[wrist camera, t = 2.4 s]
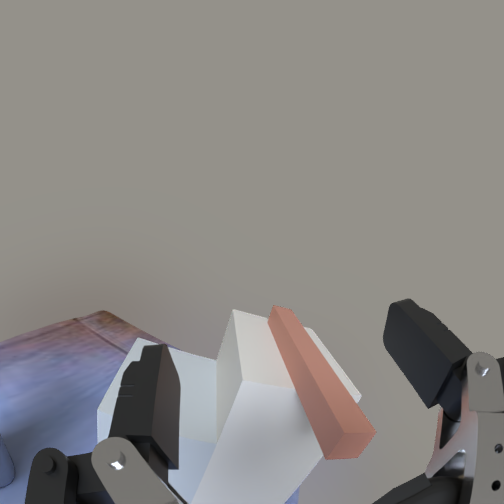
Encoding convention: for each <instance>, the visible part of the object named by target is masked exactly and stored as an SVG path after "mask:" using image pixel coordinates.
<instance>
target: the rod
mask: <svg viewBox="0 0 504 504" xmlns="http://www.w3.org/2000/svg"><path fill="white" fill-rule="evenodd" d="M267 323H268V325H269V328H270V330H271V332H272V335H273V337H274V340H275V342H276V344H277V347H278V349H279V352H280V354H281V356H282V359H283V361H284V364H285V366H286V368H287V371H288V373H289V375H290V378H291V380H292V383H293V385H294V387H295V390H296V392H297V394H298V397H299V399H300V401H301V404H302V406H303V408H304V411H305V413H306V415H307V418H308V420H309V422H310V425H311V427H312V429H313V432H314V434H315V436H316V438H317V441H318V443H319V445H320V448H321V450H322V452H323V455H324V457H325V459H327V460H328V459H349V458H358V457H359V455H360V454H361V453H362V451H363V450H364V449H365V448H366V446H367V445H368V443H369V442H370V441H371V439H372V438H373V437H374V435H375V434H376V431H375V429H374V428H373V426H372V425H371V423H370V422H369V421H368V419H367V418H366V416H365V415H364V414H363V412H362V411H361V409H360V408H359V406H358V405H357V403H356V402H355V400H354V399H353V398H352V396H351V395H350V393H349V392H348V390H347V389H346V388H345V386H344V385H343V383H342V382H341V380H340V379H339V378H338V376H337V375H336V373H335V372H334V370H333V369H332V367H331V366H330V365H329V363H328V362H327V360H326V359H325V357H324V356H323V355H322V353H321V352H320V350H319V349H318V347H317V346H316V344H315V343H314V342H313V340H312V339H311V337H310V336H309V334H308V333H307V332H306V330H305V329H304V327H303V326H302V324H301V323H300V322H299V320H298V319H297V317H296V316H295V314H294V313H293V311H292V310H290V309H286V308H283V307H279V306H275V305H273V308H272V311H271V313H270V316H269V319H268V322H267Z"/></svg>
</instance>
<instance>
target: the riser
mask: <svg viewBox="0 0 504 504" xmlns="http://www.w3.org/2000/svg"><path fill="white" fill-rule="evenodd" d="M268 319H269V318H265V317H261V316H257V315H253V314H249V313H246V312H242V311H238V310H234V309H233V311H232V314H231V317H230V320H229V323H228V326H227V329H226V332H225V335H224V338H223V341H222V345H221V348H220V351H219V354H218V357H217V360H213V359H209V358H205V357H201V356H197V355H194V354H190V353H187V352H183V351H180V350H176V349H173V348H169V347H168V349H169V352H170V354H171V357H172V360H173V362H174V365H175V367H176V370H177V372H178V375H179V379H180V386H181V396H180V421H179V470H168V481H169V483H170V484H171V485H172V486H173V487H174V488H175V489H176V490H177V491H178V493H179V494H180V495H181V496H182V497H183V498H184V499H185V500H186V501H187V502H188V503H189V504H284V503H285V502H286V501H287V500H288V498H289V497H290V496H291V495H292V494H293V493H294V492H295V490H296V489H297V488H298V487H299V486H300V484H301V483H302V482H303V481H304V480H305V478H306V477H307V476H308V475H309V473H310V472H311V471H312V469H313V468H314V467H315V465H316V464H317V463H318V462H319V460H320V459H321V458H322V456H323V452H322V450H321V448H320V445H319V443H318V441H317V438H316V436H315V434H314V432H313V429H312V427H311V425H310V422H309V420H308V418H307V415H306V413H305V411H304V408H303V406H302V404H301V401H300V399H299V397H298V394H297V392H296V390H295V387H294V385H293V383H292V380H291V378H290V375H289V373H288V371H287V368H286V366H285V364H284V361H283V359H282V356H281V354H280V352H279V349H278V347H277V344H276V342H275V340H274V337H273V335H272V332H271V330H270V328H269V325H268V323H267V322H268ZM304 329H305V330H306V332H307V333H308V334H309V336H310V337H311V339H312V340H313V342H314V343H315V344H316V346H317V347H318V349H319V350H320V352H321V353H322V355H323V356H324V357H325V359H326V360H327V362H328V363H329V365H330V366H331V367H332V369H333V370H334V372H335V373H336V375H337V376H338V378H339V379H340V380H341V382H342V383H343V385H344V386H345V388H346V389H347V390H348V392H349V393H350V395H351V396H352V398H353V399H354V400H355V402H356V403H358V401H359V400H360V398H361V396H362V395H361V394H360V392H359V391H358V390H357V389H356V387H355V386H354V384H353V383H352V382H351V381H350V379H349V378H348V377H347V375H346V374H345V373H344V371H343V370H342V369H341V367H340V366H339V365H338V363H337V362H336V361H335V359H334V358H333V357H332V355H331V354H330V353H329V351H328V350H327V349H326V347H325V346H324V345H323V343H322V342H321V341H320V339H319V338H318V337H317V335H316V334H315V333H314V331H313V330H312V329H311V328H306V327H304ZM145 345H157V343H153V342H150V341H147V340H144V339H141V338H137V340H136V342H135V343H134V345H133V347H132V348H131V350H130V352H129V354H128V355H127V357H126V359H125V360H124V362H123V364H122V366H121V367H120V369H119V371H118V373H117V374H116V376H115V378H114V380H113V382H112V383H111V385H110V387H109V389H108V391H107V392H106V394H105V396H104V398H103V400H102V402H101V404H100V405H99V407H98V409H97V436H98V443H99V442H101V441H102V440H104V439H106V438H108V435H109V431H110V427H111V422H112V417H113V413H114V408H115V404H116V400H117V397H118V392H119V388H120V387H121V385H120V384H121V380H122V376H123V372H124V371H125V370H126V368H127V367H128V366H129V364H130V363H131V362H132V361H140V357H141V353H142V349H143V347H144V346H145Z"/></svg>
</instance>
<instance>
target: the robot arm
mask: <svg viewBox="0 0 504 504" xmlns="http://www.w3.org/2000/svg"><path fill="white" fill-rule="evenodd" d="M383 342H384V346H385V348H386V350H387V351H388V353H389V354H390V355H391V357H392V358H393V359H394V361H395V362H396V364H397V365H398V366H399V368H400V369H401V371H402V372H403V373H404V375H405V376H406V378H407V379H408V380H409V382H410V383H411V384H412V386H413V387H414V389H415V390H416V392H417V393H418V395H419V396H420V398H421V399H422V401H423V402H424V403H425V405H426V406H427V408H428V409H429V408H431V407H433V406H435V405H436V404H438V403H439V404H440V406H441V408H440V410H439V413H438V423H437V431H436V439H435V445H434V452H433V455H432V458H431V460H430V462H429V464H428V466H427V468H426V470H425V473H423V474H421V475H419V476H417V477H416V478H414V479H412V480H410V481H408V482H406V483H404V484H402V485H400V486H398V487H396V488H393V489H392V490H391V491H389V492H388V493H387V494H385V495H384V496H383V497H381V498H380V499H378V500H377V501H375V502H374V503H373V504H504V357H503V358H499V359H495V358H494V357H493V356H491V355H490V354H488V353H484V352H476V353H472V352H471V351H470V350H469V349H468V348H467V347H466V346H465V345H464V344H463V343H462V342H461V341H460V340H459V339H458V338H457V337H456V336H455V335H454V334H453V333H452V332H451V331H450V330H448V328H447V327H446V326H445V325H444V324H442V323H441V321H440V320H439V319H438V318H437V317H436V316H435V315H434V314H433V313H431V312H429V311H427V310H425V309H423V308H420V307H419V306H418V305H417V304H416V303H415V302H414V301H413V300H411V299H405V300H401V301H398V302H394V303H392V304H391V305H390V307H389V311H388V316H387V320H386V325H385V330H384V335H383ZM120 385H121V387H120V388H119V392H118V397H117V400H116V404H115V408H114V413H113V417H112V422H111V427H110V431H109V435H108V438H106V439H104V440H102V441H101V442H99V443H98V444H97V445H96V447H95V448H94V450H93V452H90V453H86V454H81V455H75V456H68V457H66V456H65V455H64V454H63V453H62V452H61V451H59V450H57V449H55V448H45V449H43V450H41V451H39V452H38V453H37V454H36V456H35V457H34V459H33V462H32V466H31V471H30V476H29V481H28V487H27V493H26V499H25V504H189V503H188V502H187V501H186V500H185V499H184V498H183V497H182V496H181V495H180V494H179V493H178V491H177V490H176V489H175V488H174V487H173V486H172V485H171V484H170V483H169V481H168V470H179V421H180V396H181V386H180V379H179V375H178V372H177V370H176V367H175V365H174V362H173V360H172V357H171V354H170V352H169V349H168V347H167V345H166V344H157V345H145V346H144V347H143V349H142V353H141V357H140V361H132V362H131V363H130V364H129V366H128V367H127V368H126V370H125V371H124V372H123V376H122V380H121V384H120ZM14 475H15V469H14V465H13V462H12V460H11V458H10V456H9V453H8V451H7V449H6V447H5V444H4V442H3V439H2V437H1V434H0V487H4V486H7V485H8V484H10V483H11V482H12V480H13V478H14Z"/></svg>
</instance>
